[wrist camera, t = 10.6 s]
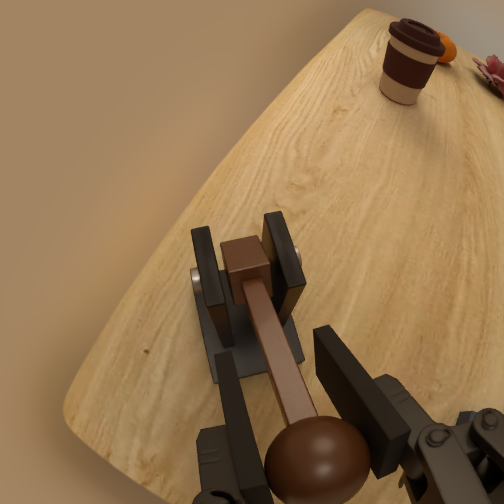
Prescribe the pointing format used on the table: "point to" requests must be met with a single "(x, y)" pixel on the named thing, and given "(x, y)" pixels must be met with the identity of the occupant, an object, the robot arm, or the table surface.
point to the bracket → (236, 316)
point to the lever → (294, 398)
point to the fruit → (447, 49)
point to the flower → (493, 71)
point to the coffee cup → (409, 60)
